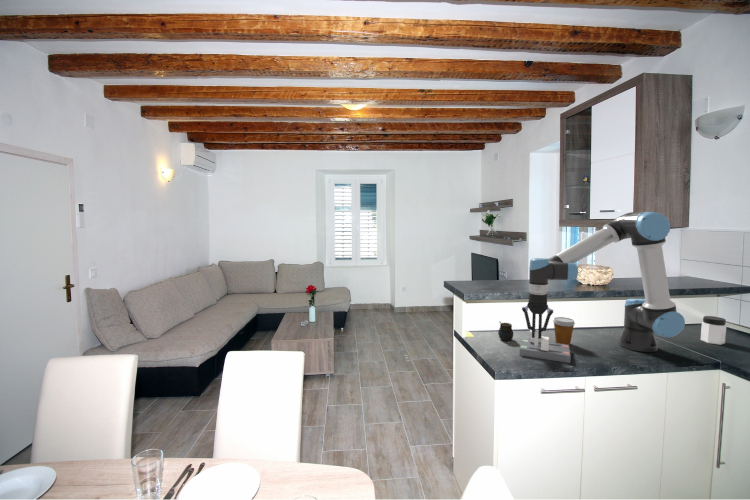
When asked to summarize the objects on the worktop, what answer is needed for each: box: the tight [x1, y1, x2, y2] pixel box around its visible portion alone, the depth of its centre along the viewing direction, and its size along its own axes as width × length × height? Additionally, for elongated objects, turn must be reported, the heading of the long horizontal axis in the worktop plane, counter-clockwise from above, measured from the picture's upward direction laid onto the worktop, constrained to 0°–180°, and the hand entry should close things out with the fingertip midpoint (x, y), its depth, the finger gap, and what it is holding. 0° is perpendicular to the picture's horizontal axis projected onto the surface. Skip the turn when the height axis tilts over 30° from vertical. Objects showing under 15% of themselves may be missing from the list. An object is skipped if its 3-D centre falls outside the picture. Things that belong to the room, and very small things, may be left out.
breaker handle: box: [529, 329, 535, 342], centre depth 171 cm, size 3×4×5 cm
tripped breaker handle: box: [540, 335, 550, 351], centre depth 160 cm, size 3×4×5 cm
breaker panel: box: [519, 338, 571, 364], centre depth 165 cm, size 20×15×3 cm
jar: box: [700, 315, 727, 346], centre depth 179 cm, size 9×8×12 cm
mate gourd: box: [497, 320, 514, 342], centre depth 183 cm, size 7×8×10 cm
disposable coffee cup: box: [552, 316, 576, 346], centre depth 177 cm, size 10×10×12 cm
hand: (536, 345), depth 162 cm, fingers closed
